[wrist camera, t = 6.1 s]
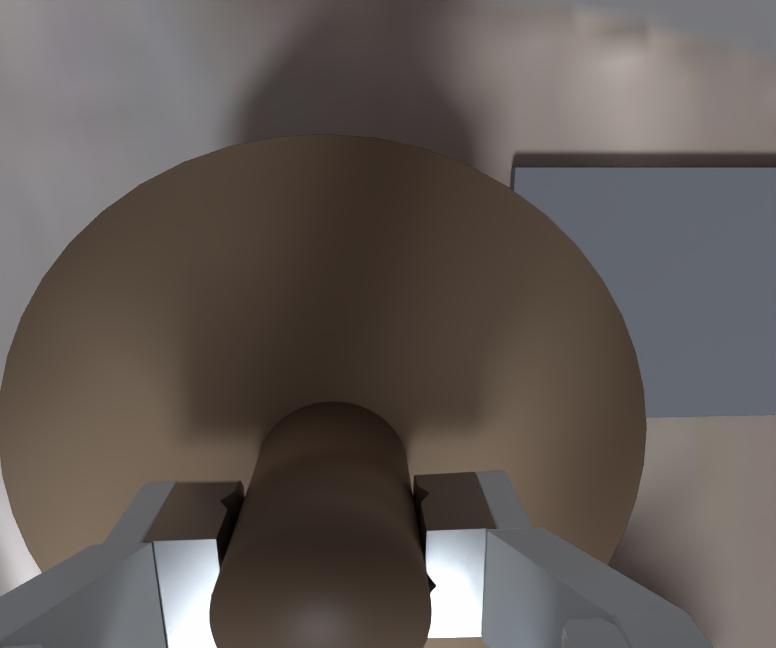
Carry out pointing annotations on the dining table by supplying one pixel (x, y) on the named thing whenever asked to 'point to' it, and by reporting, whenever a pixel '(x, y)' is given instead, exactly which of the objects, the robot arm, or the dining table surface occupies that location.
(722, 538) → the dining table surface
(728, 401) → the mat
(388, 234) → the lid
